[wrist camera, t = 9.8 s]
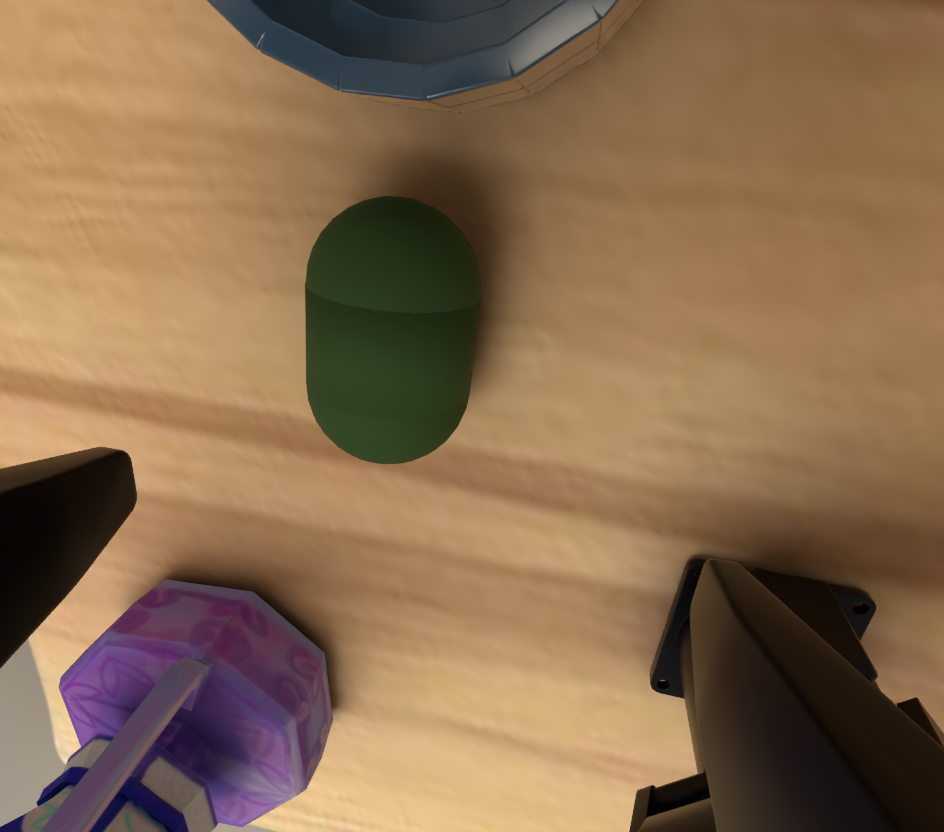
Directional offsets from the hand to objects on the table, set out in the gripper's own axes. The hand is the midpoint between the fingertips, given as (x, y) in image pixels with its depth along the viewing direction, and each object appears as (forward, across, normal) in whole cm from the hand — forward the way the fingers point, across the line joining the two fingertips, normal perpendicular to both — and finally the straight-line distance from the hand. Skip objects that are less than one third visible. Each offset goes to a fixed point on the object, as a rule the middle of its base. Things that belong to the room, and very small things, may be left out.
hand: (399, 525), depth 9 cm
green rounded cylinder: (+12, +3, 0) cm, 12 cm away
